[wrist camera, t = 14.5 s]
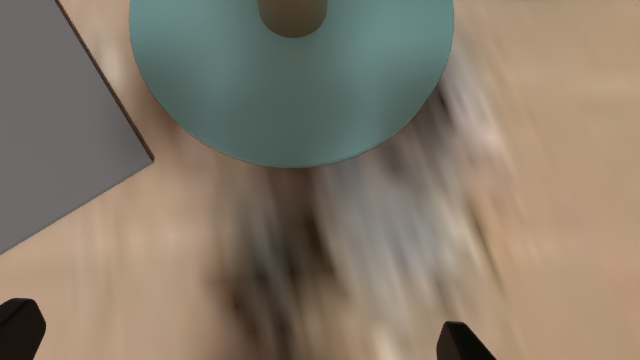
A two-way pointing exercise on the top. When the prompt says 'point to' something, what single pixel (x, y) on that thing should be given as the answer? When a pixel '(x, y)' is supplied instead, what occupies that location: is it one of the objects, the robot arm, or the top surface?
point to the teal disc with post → (291, 72)
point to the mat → (54, 123)
